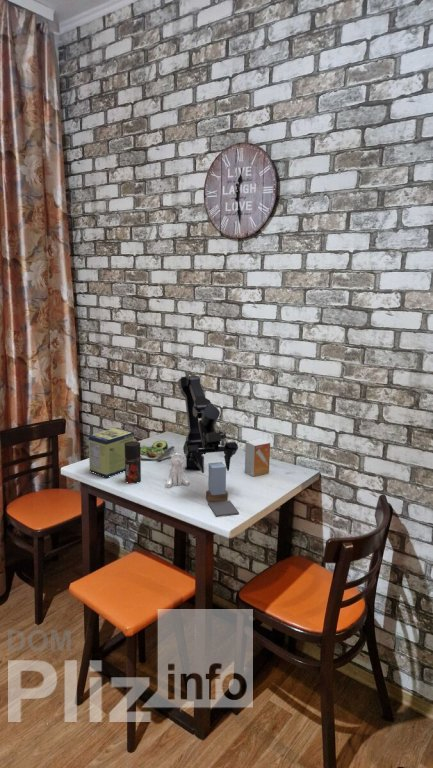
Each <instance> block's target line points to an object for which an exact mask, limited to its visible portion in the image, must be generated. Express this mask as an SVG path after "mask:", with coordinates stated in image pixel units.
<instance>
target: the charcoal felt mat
mask: <svg viewBox="0 0 433 768" xmlns="http://www.w3.org/2000/svg"><path fill="white" fill-rule="evenodd" d="M207 505H208V507H209V508H210V509H211V511H212V513H213V514H214V516H215V517H216V518H218V517H227V516H237V515H240V512H239V511H238V509H237V507H236V506H235V505H234V504H233V502H232V501H231V500H228V501H220V502H211V503H207Z"/></svg>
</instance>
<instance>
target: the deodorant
mask: <svg viewBox="0 0 433 768" xmlns="http://www.w3.org/2000/svg"><path fill="white" fill-rule="evenodd" d="M140 447H141V442H139V441H136V440H134V441H130V442H126V443H125V472H124V473H125V474H124V475H125V477H124V478H125V480H126V481H125V480H124V481H125V483H126V482H128V483H127V484H129V483H135V484H138V483H137V482H139V483H140V482H141V481H142V467H141V466H142V464H141V461H142V459H141V456H142V455H141V453H140Z"/></svg>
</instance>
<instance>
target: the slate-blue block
mask: <svg viewBox="0 0 433 768" xmlns="http://www.w3.org/2000/svg"><path fill="white" fill-rule="evenodd" d="M207 466H208V468H207V469H208V473H207V474H208V475H207V476H208V477H207V478H208V480H207V483H208V484H207V485H208V486H207V488H208V489H207V490H209V492H210V493H211V495H220V494H226V491H227V468H226V464H225V463H223V461H220V462H219V461H218V462H209V463H208V465H207Z"/></svg>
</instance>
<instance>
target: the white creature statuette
mask: <svg viewBox="0 0 433 768" xmlns="http://www.w3.org/2000/svg"><path fill="white" fill-rule="evenodd" d="M185 457H186V456H185V454H183V455H182V453H180V452H176V453H173V455H170V457H169V458H171V462H172V463H171V464H172V465H171V467H170V470H169V474H168V479H167V480H166V482H165V486H164V487H165V488H166V489H170V488H171V487H177V486H178V487H180V486H182V487H183V486H185V487H187V488H188V487H189V488H190V486H191V481H190V480H189V479H188V478H187V477H186V476H185V475H184V473H183V472H184V470H183V467H182V464H183V463H184V458H185ZM167 487H168V488H167Z"/></svg>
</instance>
